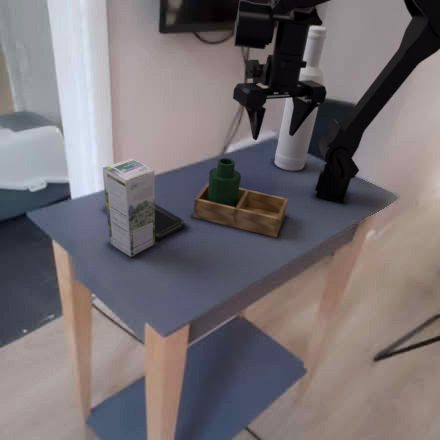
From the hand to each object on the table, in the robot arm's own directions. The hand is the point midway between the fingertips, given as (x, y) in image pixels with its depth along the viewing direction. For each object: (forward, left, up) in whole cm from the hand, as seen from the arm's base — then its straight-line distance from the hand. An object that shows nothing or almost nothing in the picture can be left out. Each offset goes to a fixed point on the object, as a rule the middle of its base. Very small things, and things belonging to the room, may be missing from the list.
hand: (273, 137), depth 82 cm
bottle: (-3, -17, -12) cm, 21 cm away
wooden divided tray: (+2, +14, -12) cm, 19 cm away
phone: (+19, +23, -12) cm, 32 cm away
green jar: (+6, +14, -11) cm, 19 cm away
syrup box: (+17, +32, -12) cm, 38 cm away
